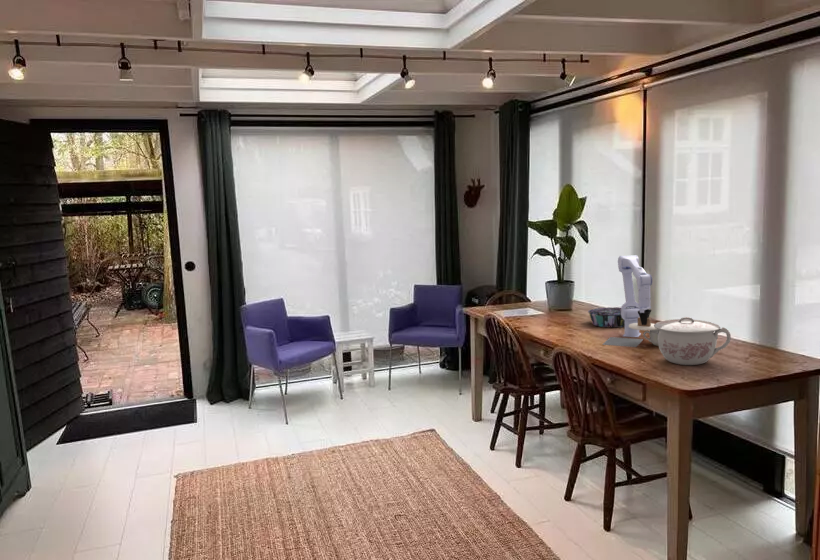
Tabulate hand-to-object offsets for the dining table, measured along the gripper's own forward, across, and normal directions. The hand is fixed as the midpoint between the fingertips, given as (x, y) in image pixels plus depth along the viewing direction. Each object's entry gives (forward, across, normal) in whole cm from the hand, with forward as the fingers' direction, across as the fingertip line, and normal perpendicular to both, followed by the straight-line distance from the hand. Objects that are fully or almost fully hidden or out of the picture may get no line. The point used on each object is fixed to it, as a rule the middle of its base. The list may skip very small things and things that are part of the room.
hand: (644, 324), depth 310 cm
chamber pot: (+11, +28, +23) cm, 38 cm away
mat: (+10, 0, -11) cm, 15 cm away
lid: (+2, 0, 0) cm, 2 cm away
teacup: (+11, 0, +6) cm, 12 cm away
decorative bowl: (+11, -45, -27) cm, 53 cm away
